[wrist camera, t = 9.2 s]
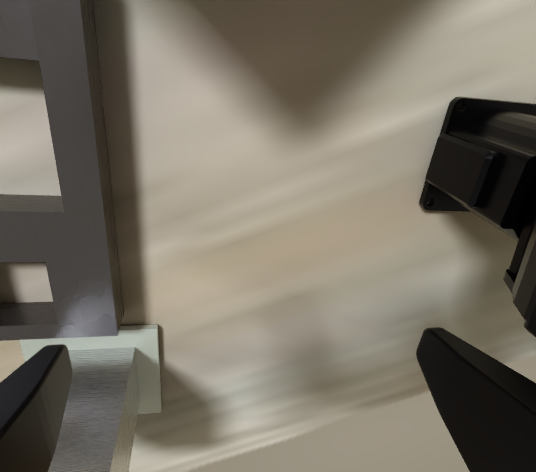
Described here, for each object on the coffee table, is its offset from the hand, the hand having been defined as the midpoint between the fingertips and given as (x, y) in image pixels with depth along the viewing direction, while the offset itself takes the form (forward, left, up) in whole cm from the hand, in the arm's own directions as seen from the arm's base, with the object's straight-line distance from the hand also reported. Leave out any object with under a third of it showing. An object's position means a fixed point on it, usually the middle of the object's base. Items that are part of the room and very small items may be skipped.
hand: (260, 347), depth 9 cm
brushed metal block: (+8, +14, -12) cm, 20 cm away
